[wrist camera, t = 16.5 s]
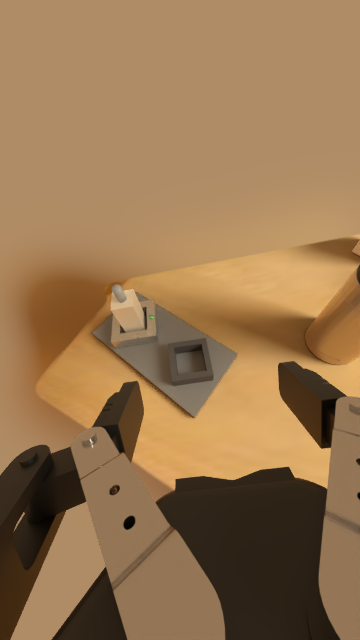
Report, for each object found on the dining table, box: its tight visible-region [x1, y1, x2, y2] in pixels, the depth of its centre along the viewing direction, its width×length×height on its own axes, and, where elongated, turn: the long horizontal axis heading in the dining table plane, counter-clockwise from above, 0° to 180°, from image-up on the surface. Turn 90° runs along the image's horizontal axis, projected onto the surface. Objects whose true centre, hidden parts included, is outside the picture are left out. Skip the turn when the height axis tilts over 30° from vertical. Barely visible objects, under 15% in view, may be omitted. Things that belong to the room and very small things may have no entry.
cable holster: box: [168, 338, 214, 386], centre depth 39 cm, size 7×7×3 cm
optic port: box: [111, 299, 159, 349], centre depth 45 cm, size 9×9×3 cm
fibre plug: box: [111, 284, 147, 333], centre depth 40 cm, size 4×4×13 cm
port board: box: [92, 292, 237, 418], centre depth 44 cm, size 14×28×2 cm, turn 52°
